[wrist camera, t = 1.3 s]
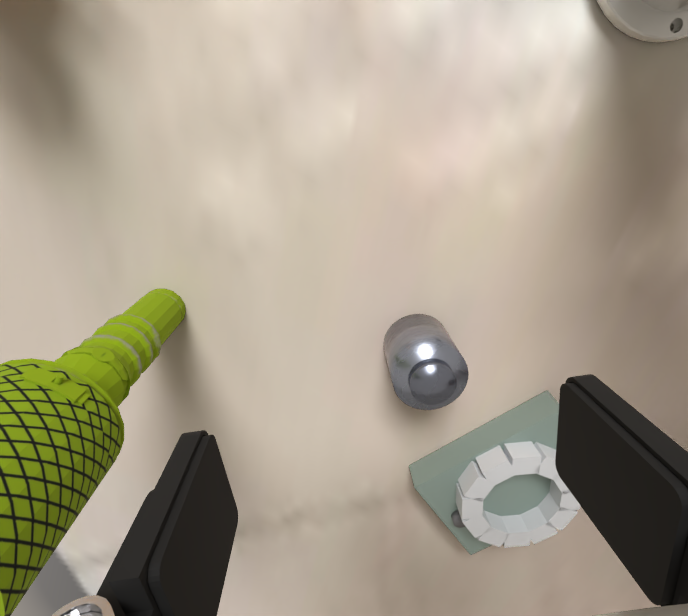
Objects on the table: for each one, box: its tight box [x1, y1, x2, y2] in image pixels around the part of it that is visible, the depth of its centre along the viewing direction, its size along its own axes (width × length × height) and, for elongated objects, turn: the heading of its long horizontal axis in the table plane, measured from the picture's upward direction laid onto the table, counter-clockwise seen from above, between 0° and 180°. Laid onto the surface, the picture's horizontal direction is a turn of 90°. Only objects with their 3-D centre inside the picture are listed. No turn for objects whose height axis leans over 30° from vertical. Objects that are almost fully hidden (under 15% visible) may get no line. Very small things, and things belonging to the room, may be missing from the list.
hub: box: [384, 314, 468, 410], centre depth 34 cm, size 6×6×7 cm
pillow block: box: [409, 391, 580, 555], centre depth 41 cm, size 16×12×5 cm
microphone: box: [0, 289, 186, 616], centre depth 24 cm, size 8×8×25 cm
